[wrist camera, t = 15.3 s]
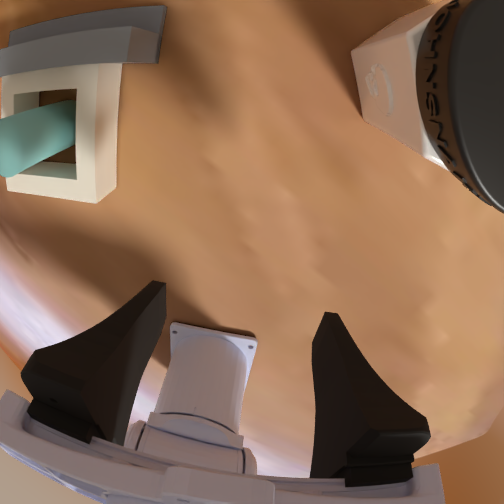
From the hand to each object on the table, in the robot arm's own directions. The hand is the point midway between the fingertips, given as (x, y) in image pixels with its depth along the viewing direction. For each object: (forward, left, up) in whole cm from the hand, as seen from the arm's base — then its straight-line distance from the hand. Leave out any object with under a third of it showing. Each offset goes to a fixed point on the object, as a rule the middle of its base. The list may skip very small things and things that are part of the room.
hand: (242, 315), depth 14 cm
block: (+6, +15, -9) cm, 19 cm away
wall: (+12, +15, -9) cm, 21 cm away
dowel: (+6, +15, -9) cm, 19 cm away
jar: (+12, -8, -10) cm, 17 cm away
